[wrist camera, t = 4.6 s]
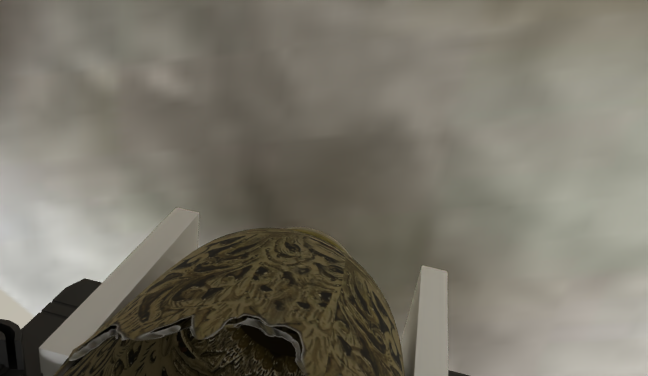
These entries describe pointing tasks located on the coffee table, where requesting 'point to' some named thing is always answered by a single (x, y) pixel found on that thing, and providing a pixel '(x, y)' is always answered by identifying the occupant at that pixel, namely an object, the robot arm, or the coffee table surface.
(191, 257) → the ornate bell
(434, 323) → the robot arm
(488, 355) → the coffee table surface
